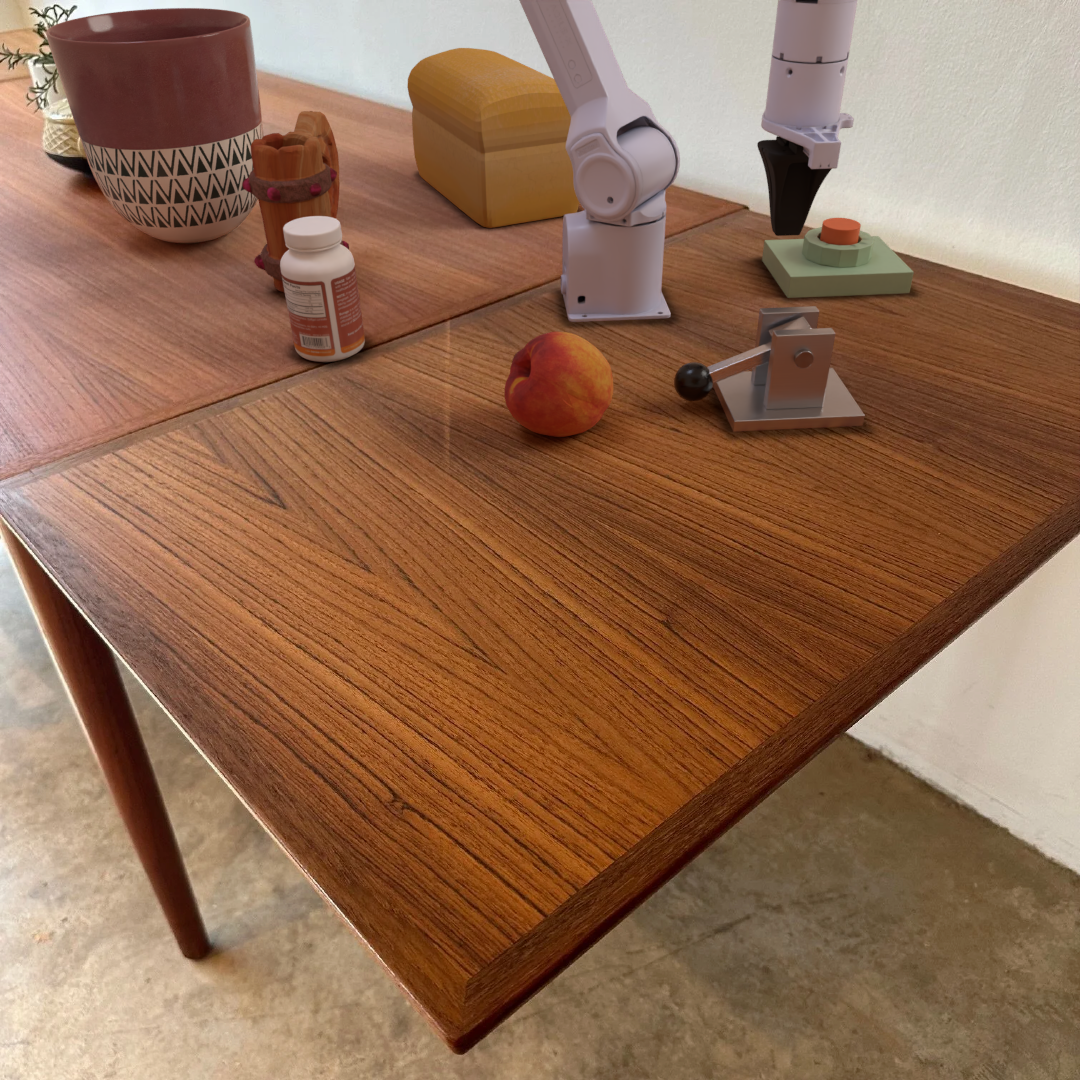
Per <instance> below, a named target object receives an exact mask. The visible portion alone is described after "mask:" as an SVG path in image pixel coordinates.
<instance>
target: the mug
mask: <svg viewBox="0 0 1080 1080" xmlns="http://www.w3.org/2000/svg"><path fill="white" fill-rule="evenodd" d="M251 156H252V162H253V168H254V169H253V170H252V171H251V173H250V175H249V178H247V179H245V180H244V181H243V184H242V186H243V189H245V190H246V191H248V192H250V193H252V194H253V195H254V196H255V197H256V198H258V200H257V201H258V205H259V210H260V215H261V218H262V224H263V230H264V234H265V240H266V243H265V245H264V246H263V248H262V249H261V252H260V254H258V255H257V256H254V260H253V263H254V265H255V267H257V268H258V269H260V270H262V271H265V273H266V274H267V275H268V276H270V277H271V278H272V279H273V280H272V281H273V284H274V288H275V289H276V290H278V291H279V292H281V293H284V294H285V291H284V286H283V280H282V275H281V268H280V261H281V258H282V256H283V255H284V253H285V252H286V251H288V250H289V248H287V247H286V243H285V239H284V232H283V227H284V225H285V224H287V223H288V222H290V221H292V220H295V219H298V218H303V217H310V216H326V217H332V218H335V219H337V218H338V210H339V203H340V202H339V201H340V185H341V183H340V163H339V162H340V160H339V151H338V147H337V143H336V140H335V135H334V132H333V130H332V127H331V125H330V123H329V120H328V119H327V116H326V114H324V113H323V112H321V111H313V110H309V111H308V110H302V111H300V112H299V114H298V115H297V119H296V122H295V126H294V130H293V131H289V132H288V133H286V134H284V135H283V134H281V133H279V132H273V133H269V134H265V135H264V137H263V138H262V139H255V140H254V141H253V142H252V145H251ZM337 220H338V219H337ZM340 244H341V245H343V246H345V247H346V248H347V249H348V250H349V251H350V245H349V243H348V242H347V241H346V240H342V241H341V243H340Z"/></svg>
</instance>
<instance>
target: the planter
mask: <svg viewBox="0 0 1080 1080" xmlns="http://www.w3.org/2000/svg"><path fill="white" fill-rule="evenodd" d="M45 34H46V39H47V42H48V45H49V48H50V52H51V55H52V58H53V62H54V65H55V67H56V71H57V73H58V76H59V79H60V82H61V85H62V88H63V91H64V95H65V97H66V100H67V103H68V106H69V109H70V112H71V113H70V114H71V115H72V119H73V122H74V125H75V128H76V131H77V134H78V137H79V139H80V142H81V145H82V148H83V151H84V154H85V157H86V161H87V163H88V165H89V168H90V170H91V173H92V175H93V179H95V182H96V183H97V185H98V188H99V189H100V191H101V193H102V194H103V196H104V197H105V199H106V201H107V202H108V203H109V205H110V207H112V209H113V210H114V211H115V212H116V213H117V214H118V215H119V216H120V217H121V218H122V219H123V220H125V222H127V223H128V224H130V225H131V226H132V227H133V228H136V229H137V230H139V231H140V232H142V233H144V234H146V235H148V236H150V237H151V238H154V239H157V240H159V241H164V242H167V243H175V244H197V243H204V242H209V241H213V240H215V239H219V238H221V237H223V236H225V235H227V234H229V233H231V232H232V231H234V230H235V229H237V228H238V227H239V226H240V225H241V224H242V223H243V222H244V221H245V220H246V219H247V217H248V216H249V215H250V214H251V212H252V210H253V209H254V208H255V206H256V204H257V203H258V201H259V200H258V198H256V197H255V196H254V195H253V194H252V193H250V192H248V191H246V190H245V189H243V186H242V184H243V181H244V180H245V179H247V178H249V175H250V173H251V171H252V170H253V169H254V168H253V162H252V156H251V145H252V142H253V141H254V140H255V139H262V138H263V137H264V136H265V135H264V127H263V118H262V107H261V98H260V91H259V82H258V75H257V66H256V56H255V55H256V53H255V45H254V37H253V31H252V24H251V19H250V17H249V16H248V15H246V14H244V13H242V12H238V11H233V10H227V9H219V8H205V7H203V8H202V7H170V8H169V7H167V8H149V9H147V8H146V9H135V10H122V11H115V12H107V13H106V12H105V13H100V14H94V15H89V16H82V17H77V18H74V19H68V20H65V21H61V22H59V23H57V24H54V25H52V26H50V27H49V28H48V29H46V31H45Z"/></svg>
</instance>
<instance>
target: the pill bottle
mask: <svg viewBox="0 0 1080 1080" xmlns="http://www.w3.org/2000/svg"><path fill="white" fill-rule="evenodd" d="M283 232H284V239H285V243H286V247H287V248H289V250H288V251H286V252H285V253H284V255H283V256H282V258H281V261H280V268H281V275H282V280H283V286H284V291H285V293H284V296H285V302H286V308H287V312H288V313H287V314H288V319H289V325H290V330H291V335H292V341H293V346H294V349H295V352H296V353H297V354H298V355H299V356H300V357H301V358H303V359H304V360H308V361H312V362H319V363H331V362H332V363H333V362H337V361H342V360H345V359H348V358H350V357H352V356H355V355H356V354H358V353H359V352H360V351H361V350H362V349H363V348H364V346H365V342H366V336H365V327H364V321H363V313H362V307H361V306H362V305H361V300H360V291H359V285H358V278H357V271H356V264H355V259H354V258H355V257H354V255H353V253H352V252H351V250H350V249H349V250H348V249H347V248H346V247H345V246H343V245H341V244H340V243H341V241H343V231H342V225H341V222H340V220H338V219H335V218H332V217H326V216H310V217H303V218H298V219H295V220H292V221H290V222H288V223H287V224H285V225H284V227H283Z"/></svg>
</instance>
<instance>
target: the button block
mask: <svg viewBox="0 0 1080 1080" xmlns="http://www.w3.org/2000/svg"><path fill="white" fill-rule="evenodd" d="M821 230H822V226H819V227H816V228H812V229H809V230H808V231H807V232H806V233H805V235H804V237H803V238H790V239H789V238H788V239H785V238H784V239H765V240H764V241H763V242H764V243H763V248H762V256H761V262H763V264H764V266H765V267H766V268H767V270H768V271H769V273H770V274H771V276H772V278H773V279H774V281H775V282H776V283H777V285H778V286H779V288H780V289H781V291H782V293H783V294H784V295H785V297H786V298H787V299H794V298H795V299H796V298H821V297H824V298H825V297H845V296H846V297H847V296H849V297H850V296H873V295H897V294H898V295H899V294H900V295H901V294H910V292H911V287H912V282H913V278H914V273H915V272H914V270H913V269H912V268H911V267H910V266H909V265H907V263H906V262H905V261H904V260H903V259H902V258H901V257H900V256H899V255H897V254H896V252H895V251H894V250H893V249H892V248H891V246H889V245H888V244H887V243H886V242H885V241H884V240H883V239H882V238H881V237H880V236H879V235H871V234H870V233H868V232H865V231H863V230H860V233H859V238H858V243H856V244H853V245H834V244H828V243H825V242H823V241H820V237H821Z"/></svg>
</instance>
